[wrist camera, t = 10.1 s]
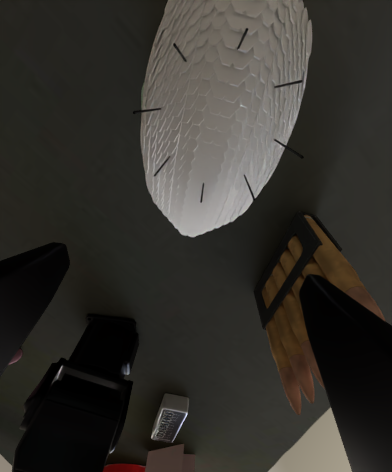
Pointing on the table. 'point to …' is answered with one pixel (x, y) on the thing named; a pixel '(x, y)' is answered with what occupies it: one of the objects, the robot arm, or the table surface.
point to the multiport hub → (170, 417)
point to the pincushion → (220, 105)
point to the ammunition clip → (288, 302)
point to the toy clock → (124, 468)
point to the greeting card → (170, 460)
